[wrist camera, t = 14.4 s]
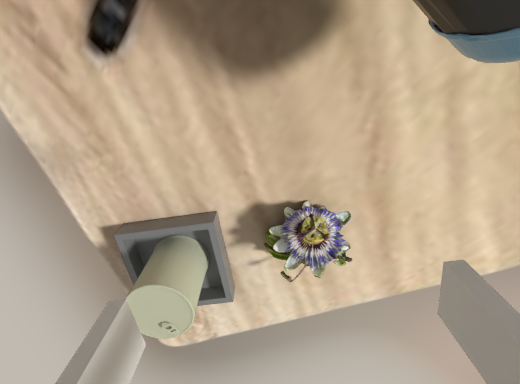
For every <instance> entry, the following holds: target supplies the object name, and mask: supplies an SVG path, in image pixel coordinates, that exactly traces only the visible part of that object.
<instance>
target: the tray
mask: <svg viewBox="0 0 520 384" xmlns="http://www.w3.org/2000/svg"><path fill="white" fill-rule="evenodd" d="M173 235H183V236H188V237H191V238H193V239H195V240H197V241H198V242H200V243H201V244H202V245H203V246H204V248H205V249H206V251H207V253H208V255H209V267H208V269H207V271H206V274H205V277H204V281H203V284H202V288H201V292H200V296H199V299H198V303H197V306H200V305H209V304H218V303H227V302H233V299H234V290H235V285H234V281H233V277H232V272H231V268H230V264H229V260H228V256H227V251H226V247H225V243H224V239H223V235H222V231H221V226H220V222H219V218H218V214H217V211H214V212H207V213H199V214H192V215H184V216H177V217H170V218H162V219H155V220H148V221H140V222H133V223H125V224H123V225H122V226H121V228H120V229H119V230H118V231H117V232H116V233H115V234H114V238H115V240H116V243H117V245H118V248H119V250H120V252H121V255H122V257H123V260H124V262H125V265H126V267H127V270H128V272H129V274H130V277H131V279H132V282H133V284H135V283H136V281H137V279H138V278H139V276H140V274H141V273H142V271H143V269H144V268H145V266H146V264H147V262H148V261H149V259H150V257H151V255H152V253H153V251H154V248H155V246H156V245H157V244H158V243H159V242H160V241H161V240H162V239H164V238H166V237H169V236H173Z"/></svg>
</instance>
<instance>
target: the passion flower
mask: <svg viewBox="0 0 520 384" xmlns="http://www.w3.org/2000/svg"><path fill="white" fill-rule="evenodd" d="M284 217H285V222H284V224H283V225H278V226H273V227H271V228H270V229H269V231H268V232H267V233H266V235H265V236H266V238H267V241H268V242H269V243H270V244H271V246H273V248H272V247H270V246H268V244H267V243H265V244H264V245H265V247H266V248H267V249H268V250H269V251H270V253H271V254H272V255H273V257H275V258H277V259H281V260H287V261H286V263H285V266H284V269H285V270H286V271H289V270H293V269H295V268H297V267H298V266H299V264H301V263H303V264H305V266H304V268H305V267H306V266H310V268H311V270H312V272H313V274H314V276H315V277H319V278H320V277H321V276H322V275H323V272H324V269H325V267H326V265H327V264H329V262H330V261H331V260H332V259H337V258H338V259H339V260H338V261H337V260H336V261H334V263H335V264H337V265H341V266H343V265H345V264H346V262H345V261H348V262H349V261H352V258H349V257H346V255H345V253H346V251H347V250H349V249H350V245H349V243H348V242H346V241H345V240H343V239H342V238H341V237H342V236H343V235H340V230H341V228H342V227H343V225H345V224H346V223H347V222H348V221H349V220H350V218H351V214H350V213H349V212H346V211H345V212H341V213H338V214H336V213H334V212H330V211H327V210H326V208H325V206H322V207H320V208H313V206H312V205H311V203H310V202H309V201H306V202H304V203H303V206H302V208H301V210H300V209H299V210H294V209H292V208H289V207H286V208H285V209H284ZM341 255H342V256H341ZM304 268H303V269H302V270H301V271H300V273H301V272H302V271H303V270H304ZM300 273H299V274H298V275H297V276H296V277H295V278H294V279H293V280H291V277H289V276H287V275H286V274H285V273H284V271H282V272H281V275H282V276H283V277H284V278H285V279H287V280H288V281H289V282H292V281H294V280H295V279H296V278H297V277H298V276H299V275H300Z"/></svg>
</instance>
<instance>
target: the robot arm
mask: <svg viewBox="0 0 520 384" xmlns="http://www.w3.org/2000/svg"><path fill="white" fill-rule="evenodd" d="M413 1H414V2H415V4H416V5H417V6H418V7H419V8H420V9H421V10H422V12H423V13H424V14H425V15H426V16H427V17H428V19H429V24H430V26H431V27H432V29H433V30H434V31H435V32H436V33H438V34H439V35H442V36H443V37H445V38H446V39H447V40H448V41H449V42H450V43H451V44H452V45H453V46H454V47H455V48H456V49H457V50H458V51H459V52H460V53H461V54H463V55H464V56H466V57H468V58H472V59H474V60H477V61H480V62H485V63H505V62H513V61H519V60H520V0H413ZM438 315H439V316H440V318H441V319H442V320H443V322H444V323H445V325H446V326H447V328H448V329H449V331H450V332H451V333H452V335H453V336H454V338H455V339H456V341H457V342H458V343H459V345H460V346H461V347H462V349H463V350H464V352H465V353H466V355H467V356H468V358H469V359H470V360H471V362H472V363H473V364H474V366H475V367H476V369H477V370H478V372H479V373H480V375H481V376H482V377H483V379H484V380H485V382H486V383H487V384H520V314H519V313H518V312H517V311H516V310H515V309H514V308H513V307H512V306H511V305H510V304H509V303H508V302H507V301H506V300H505V299H504V298H503V297H502V296H501V295H500V294H499V293H498V292H497V291H496V290H494V288H492V287H491V286H490V285H489V284H488V283H487V282H486V281H485V280H484V279H483V278H482V277H481V276H480V275H479V274H478V273H477V272H476V271H475V270H474V269H473V268H472V267H471V266H470V265H469V264H468V263H467V262H466V261H465V260H457V261H448V262H444V263H443V272H442V281H441V290H440V299H439V307H438ZM145 346H146V344H145V341H144V339H143V337H142V335H141V332H140V330H139V328H138V325H137V323H136V321H135V318H134V316H133V314H132V311H131V309H130V307H129V305H128V302H127V300H126V299H123V300H115V301H109V302H108V303H107V305H106V307H105V308H104V310H103V311H102V313H101V314H100V316H99V317H98V319H97V320H96V322H95V323H94V325H93V327H92V328H91V330H90V331H89V333H88V334H87V336H86V337H85V339H84V340H83V342H82V343H81V345H80V347H79V348H78V350H77V351H76V353H75V354H74V356H73V357H72V359H71V360H70V362H69V363H68V365H67V366H66V368H65V370H64V371H63V373H62V374H61V376H60V378H59V379H58V380H57V382H56V383H55V384H130V381H131V379H132V377H133V374H134V372H135V370H136V367H137V365H138V362H139V360H140V358H141V355H142V352H143V350H144V348H145Z"/></svg>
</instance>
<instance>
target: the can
mask: <svg viewBox="0 0 520 384" xmlns="http://www.w3.org/2000/svg"><path fill="white" fill-rule="evenodd" d="M208 267H209V255H208V253H207V251H206V249H205V248H204V246H203V245H202V244H201V243H200V242H198V241H197V240H195V239H193V238H191V237H188V236H183V235H173V236H169V237H166V238H164V239H162V240H161V241H160V242H159V243H158V244H157V245H156V246H155V248H154V251H153V253H152V255H151V257H150V259H149V261H148V262H147V264H146V266H145V268H144V269H143V271H142V273H141V274H140V276H139V278H138V279H137V281H136V283H135V284H134V286H133V288H132V289H131V291H130V293H129V294H128V295H127V297H126V298H125V299H126V300H127V302H128V305H129V307H130V309H131V311H132V314H133V316H134V318H135V321H136V323H137V325H138V328H139V330H140V332H141V333H142V334H144V335H147V336H150V337H154V338H173V337H177V336H179V335H181V334H183V333H185V332H186V331H187V330H188V329H189V328H190V327H191V325H192V324H193V321H194V317H195V311H196V307H197V303H198V299H199V296H200V292H201V288H202V284H203V281H204V277H205V274H206V271H207V269H208Z"/></svg>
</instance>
